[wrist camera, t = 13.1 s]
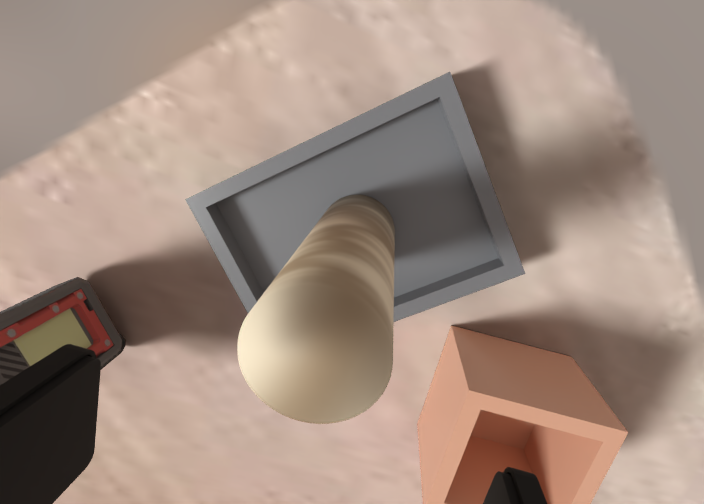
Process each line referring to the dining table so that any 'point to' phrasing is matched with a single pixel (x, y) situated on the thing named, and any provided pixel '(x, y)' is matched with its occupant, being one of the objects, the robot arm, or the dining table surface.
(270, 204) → the charcoal tray
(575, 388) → the terracotta box
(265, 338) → the birch dowel
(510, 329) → the dining table surface
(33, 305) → the walkie-talkie
